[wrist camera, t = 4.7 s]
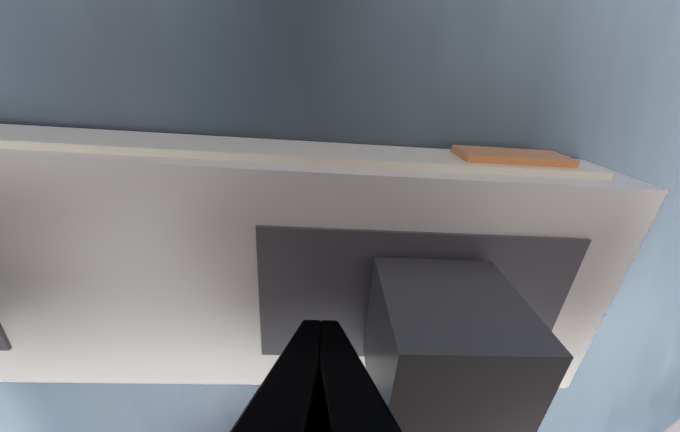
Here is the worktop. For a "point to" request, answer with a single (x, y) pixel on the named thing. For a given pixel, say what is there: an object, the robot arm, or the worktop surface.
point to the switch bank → (277, 244)
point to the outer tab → (458, 348)
